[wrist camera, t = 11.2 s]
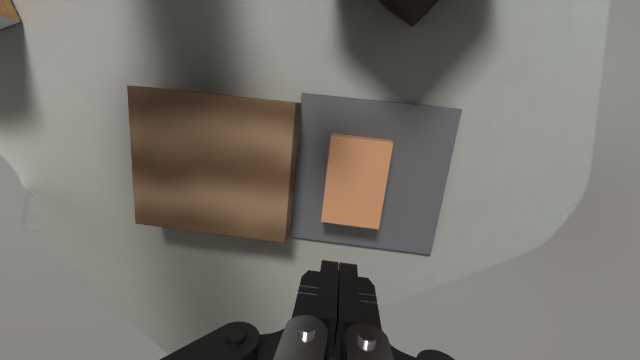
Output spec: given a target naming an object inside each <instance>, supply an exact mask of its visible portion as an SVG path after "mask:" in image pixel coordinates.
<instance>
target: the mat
mask: <svg viewBox="0 0 640 360" xmlns="http://www.w3.org/2000/svg"><path fill="white" fill-rule="evenodd" d="M461 110H462V109H453V108H443V107H434V106H424V105H414V104H404V103H394V102H385V101H375V100H365V99H355V98H345V97H336V96H326V95H316V94H306V93H302V99H301V111H300V123H299V136H298V148H297V160H296V173H295V185H294V197H293V210H292V222H291V234H290V237H296V238H304V239H312V240H319V241H327V242H335V243H343V244H351V245H358V246H366V247H374V248H382V249H390V250H397V251H405V252H413V253H421V254H429V255H431V250H432V246H433V241H434V236H435V232H436V227H437V222H438V218H439V213H440V208H441V204H442V199H443V194H444V190H445V185H446V180H447V176H448V171H449V166H450V162H451V157H452V152H453V148H454V143H455V138H456V134H457V129H458V124H459V120H460V115H461ZM332 133H334V134H343V135H352V136H360V137H369V138H378V139H386V140H390V141H392V142H393V148H392V154H391V160H390V165H389V171H388V177H387V183H386V189H385V195H384V201H383V207H382V213H381V219H380V225H379V229H372V228H364V227H356V226H349V225H341V224H334V223H326V222H321V218H322V209H323V200H324V192H325V183H326V174H327V166H328V157H329V148H330V140H331V134H332Z"/></svg>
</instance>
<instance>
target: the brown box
mask: <svg viewBox="0 0 640 360" xmlns="http://www.w3.org/2000/svg"><path fill="white" fill-rule="evenodd" d="M127 89H128V105H129V122H130V138H131V155H132V171H133V188H134V204H135V221H136V224H143V225H151V226H159V227H166V228H174V229H182V230H190V231H197V232H205V233H213V234H220V235H228V236H236V237H244V238H251V239H259V240H267V241H274V242H282V243H285V241H286V239H287V237H288V234H289V232H290V230H291V222H292V210H293V197H294V185H295V173H296V160H297V148H298V136H299V123H300V111H301V103H295V102H286V101H276V100H266V99H257V98H247V97H237V96H228V95H218V94H208V93H199V92H189V91H180V90H170V89H160V88H150V87H139V86H128V85H127Z"/></svg>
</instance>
